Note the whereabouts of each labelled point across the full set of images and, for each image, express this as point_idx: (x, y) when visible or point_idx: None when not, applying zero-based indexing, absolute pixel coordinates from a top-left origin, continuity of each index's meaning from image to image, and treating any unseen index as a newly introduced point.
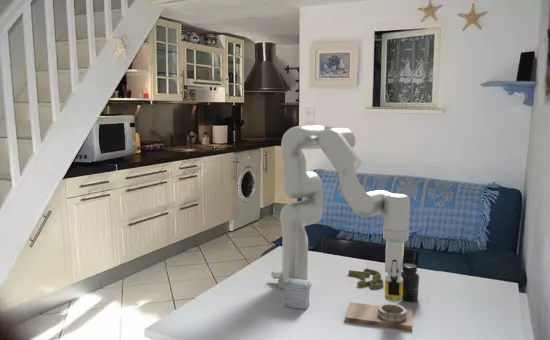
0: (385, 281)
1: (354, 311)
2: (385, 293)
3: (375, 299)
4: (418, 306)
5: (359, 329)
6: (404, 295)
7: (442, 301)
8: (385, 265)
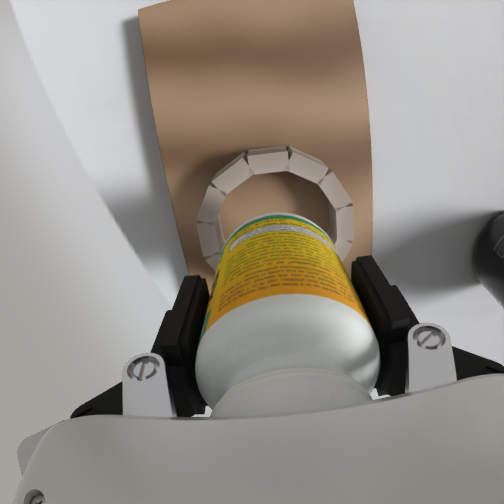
0: (253, 287)
1: (230, 25)
2: (247, 235)
3: (471, 113)
4: (440, 291)
5: (104, 99)
6: (490, 250)
7: (478, 345)
8: (18, 497)
